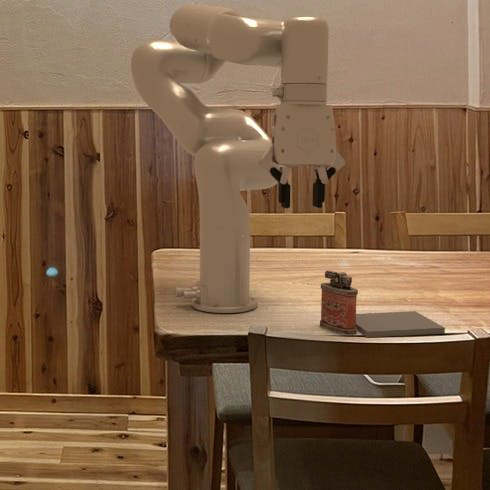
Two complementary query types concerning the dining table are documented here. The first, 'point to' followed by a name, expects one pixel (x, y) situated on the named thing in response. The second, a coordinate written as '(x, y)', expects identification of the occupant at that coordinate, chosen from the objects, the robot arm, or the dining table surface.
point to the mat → (396, 324)
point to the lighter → (338, 304)
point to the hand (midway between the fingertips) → (301, 206)
